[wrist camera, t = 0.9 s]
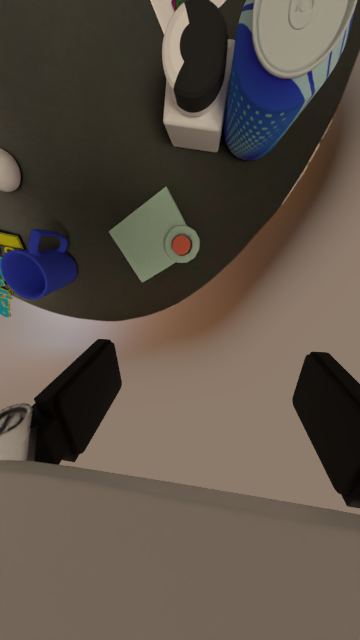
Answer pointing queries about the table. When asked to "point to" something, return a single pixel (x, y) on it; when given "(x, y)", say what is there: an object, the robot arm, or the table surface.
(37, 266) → the mug
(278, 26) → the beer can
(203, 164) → the table surface
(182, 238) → the power button
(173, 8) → the printed white tile
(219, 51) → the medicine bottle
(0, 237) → the logo
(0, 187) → the garlic bulb
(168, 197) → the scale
